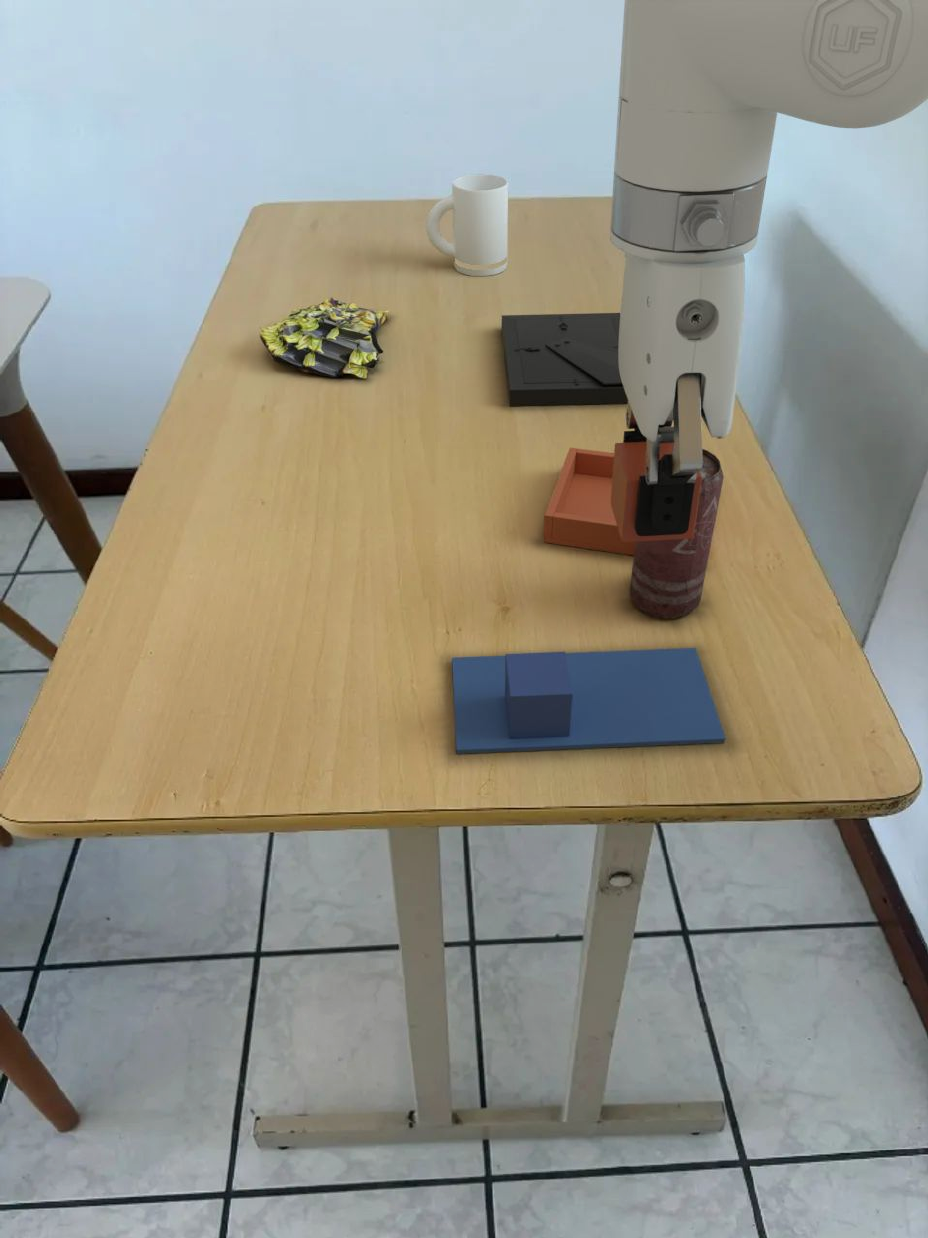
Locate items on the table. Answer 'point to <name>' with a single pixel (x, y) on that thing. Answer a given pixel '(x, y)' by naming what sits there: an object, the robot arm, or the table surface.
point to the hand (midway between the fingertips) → (652, 505)
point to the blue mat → (595, 702)
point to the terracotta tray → (584, 505)
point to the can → (678, 557)
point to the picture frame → (562, 359)
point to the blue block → (538, 695)
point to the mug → (474, 223)
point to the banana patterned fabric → (327, 339)
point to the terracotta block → (625, 490)
